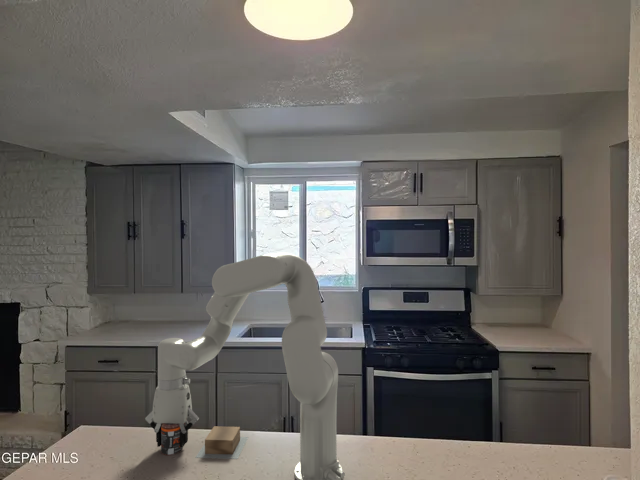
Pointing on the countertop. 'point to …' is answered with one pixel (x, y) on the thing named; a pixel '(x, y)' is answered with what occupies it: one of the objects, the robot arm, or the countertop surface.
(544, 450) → the countertop surface
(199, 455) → the base plate
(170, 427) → the supplement bottle
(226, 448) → the walnut block
